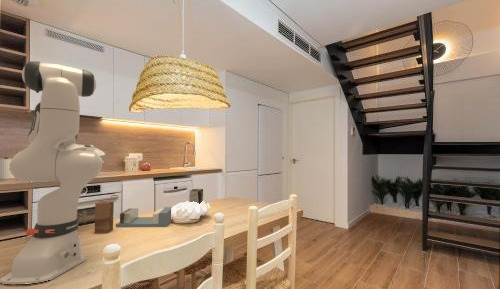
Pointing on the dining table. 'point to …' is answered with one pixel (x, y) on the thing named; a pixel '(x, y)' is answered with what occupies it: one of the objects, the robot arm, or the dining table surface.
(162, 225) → the vise base
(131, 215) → the vise jaw
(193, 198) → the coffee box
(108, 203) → the walnut block
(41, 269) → the robot arm
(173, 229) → the dining table surface
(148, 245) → the dining table surface
